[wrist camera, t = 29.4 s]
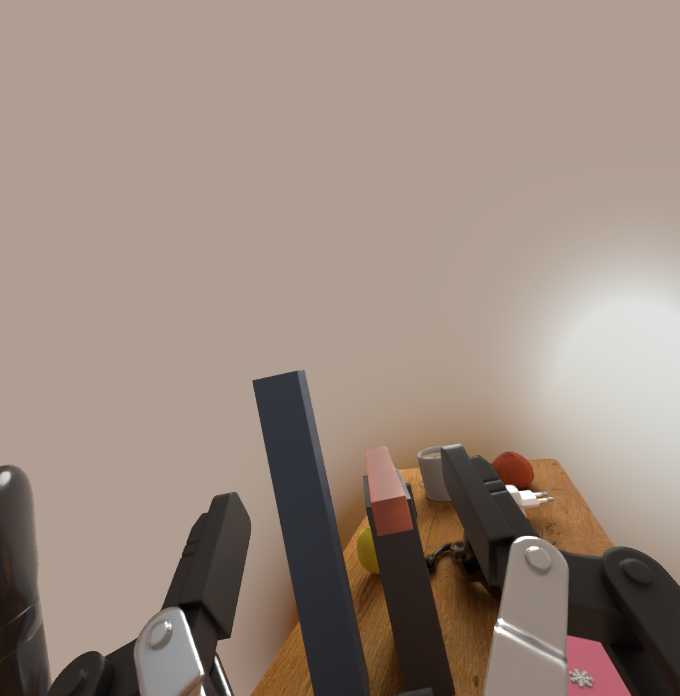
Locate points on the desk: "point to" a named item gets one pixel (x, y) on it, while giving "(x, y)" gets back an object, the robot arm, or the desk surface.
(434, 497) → the coffee mug
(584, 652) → the mug
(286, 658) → the desk surface
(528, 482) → the fruit
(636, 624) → the robot arm
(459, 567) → the cat figurine
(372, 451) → the bar
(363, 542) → the lemon
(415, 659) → the plinth
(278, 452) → the dark blue long block
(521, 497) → the power adapter
